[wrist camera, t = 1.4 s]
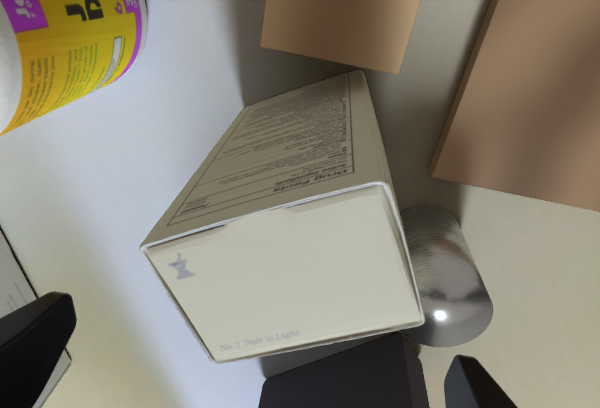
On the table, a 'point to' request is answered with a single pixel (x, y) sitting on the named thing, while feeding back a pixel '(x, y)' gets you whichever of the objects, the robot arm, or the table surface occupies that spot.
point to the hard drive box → (14, 294)
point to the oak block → (342, 30)
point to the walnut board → (529, 105)
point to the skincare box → (289, 230)
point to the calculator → (353, 379)
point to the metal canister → (444, 279)
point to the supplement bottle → (63, 52)
